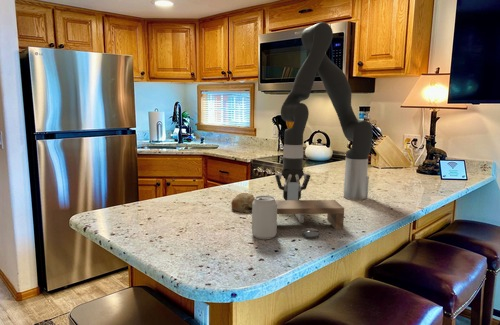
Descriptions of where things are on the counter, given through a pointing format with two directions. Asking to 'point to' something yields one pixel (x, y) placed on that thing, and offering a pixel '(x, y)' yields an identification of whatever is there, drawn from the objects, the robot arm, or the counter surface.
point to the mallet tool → (294, 196)
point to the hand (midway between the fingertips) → (291, 199)
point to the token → (310, 233)
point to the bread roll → (243, 202)
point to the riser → (314, 209)
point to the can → (264, 217)
